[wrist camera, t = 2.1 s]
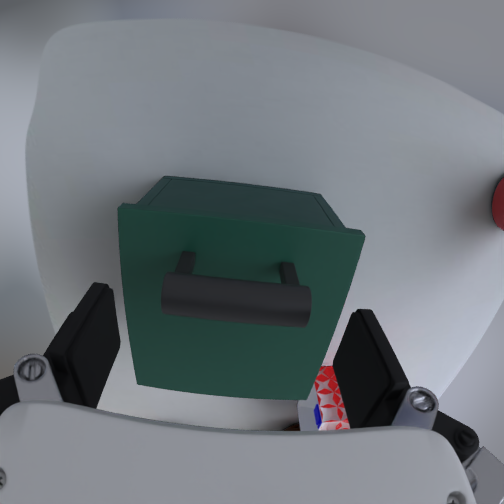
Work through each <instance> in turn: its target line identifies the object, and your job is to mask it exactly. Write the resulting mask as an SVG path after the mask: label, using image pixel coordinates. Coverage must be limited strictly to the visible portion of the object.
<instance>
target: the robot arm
mask: <svg viewBox="0 0 504 504" xmlns="http://www.w3.org/2000/svg"><path fill="white" fill-rule="evenodd" d="M119 348H120V335H119V329H118V322H117V316H116V309H115V301H114V293H113V289H111V288H109V285H108V284H103V283H96V282H94V283H93V284H92V285H91V287H90V288H89V290H88V291H87V293H86V294H85V295H84V297H83V298H82V300H81V301H80V303H79V304H78V306H77V307H76V309H75V310H74V312H71V313H70V314H69V316H68V317H67V319H66V320H65V322H64V323H63V325H62V326H61V328H60V329H59V331H58V332H57V334H56V335H55V337H54V339H53V340H52V342H51V343H50V345H49V347H48V348H47V350H46V352H45V353H44V355H43V356H42V355H39V354H28V355H26V356H24V357H22V358H21V359H19V360H18V361H17V363H16V364H15V367H14V375H12V376H9V377H6V378H4V379H1V380H0V504H501V503H502V501H503V500H504V464H503V463H501V462H500V461H499V460H498V459H497V458H496V457H495V456H494V455H493V454H491V453H490V452H489V451H488V450H487V449H486V448H485V447H484V446H483V447H482V448H480V447H479V439H478V436H477V434H476V433H475V431H474V430H473V429H471V428H470V427H468V426H466V425H464V424H462V423H461V422H459V421H457V420H455V419H453V418H451V417H449V416H447V415H446V414H444V413H442V412H440V411H438V406H439V403H438V399H437V398H436V396H435V395H434V394H433V393H432V392H431V391H430V390H428V389H426V388H423V387H417V386H416V387H412V388H411V387H410V385H409V381H408V379H407V377H406V375H405V373H404V371H403V369H402V367H401V365H400V363H399V361H398V359H397V357H396V355H395V353H394V351H393V349H392V347H391V345H390V343H389V341H388V339H387V337H386V336H385V334H384V332H383V330H382V328H381V326H380V324H379V322H378V320H377V318H376V317H375V315H374V313H373V311H372V310H370V309H357V310H356V312H353V313H352V314H351V317H350V319H349V322H348V325H347V327H346V330H345V332H344V335H343V338H342V340H341V343H340V345H339V348H338V350H337V353H336V355H335V358H334V360H333V369H334V373H335V376H336V380H337V383H338V386H339V390H340V393H341V397H342V401H343V404H344V408H345V411H346V415H347V419H348V422H349V426H350V429H338V430H317V431H259V430H238V429H223V428H212V427H201V426H192V425H184V424H176V423H169V422H162V421H156V420H150V419H144V418H139V417H133V416H128V415H123V414H118V413H113V412H108V411H104V410H99V409H96V408H97V405H98V402H99V399H100V397H101V394H102V391H103V389H104V386H105V384H106V381H107V378H108V376H109V373H110V371H111V368H112V366H113V363H114V361H115V358H116V356H117V354H118V351H119Z"/></svg>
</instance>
